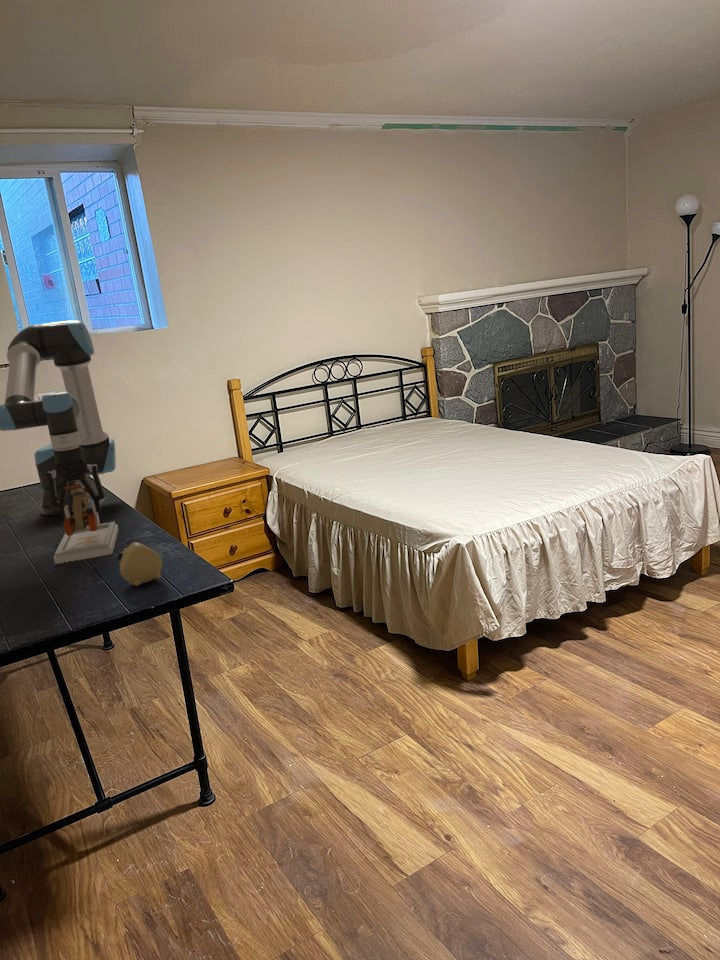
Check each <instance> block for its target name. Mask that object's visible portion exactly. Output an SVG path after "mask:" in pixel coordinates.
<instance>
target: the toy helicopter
mask: <svg viewBox="0 0 720 960" xmlns="http://www.w3.org/2000/svg"><path fill="white" fill-rule="evenodd" d="M64 489H71V494H72V495H74V496H73V507H72V511H73V512H72V513H73V514H72V515H71V518H63V527H64V532H65V533H66V535H67V536H69V535H73V534H74V531H77V530H83V529H85V528H86V527H87V526H89V529H90V531H97V529H98V526H97V519H96V516H95V514H94V513H90V514H89V513H87V509H88V508H89V498H88V494H87V493H88V491H87V490H86V488H85V487H82V485H81V484H78V483H77V484H76V485H74V486H67V487H64Z"/></svg>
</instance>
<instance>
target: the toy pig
mask: <svg viewBox="0 0 720 960" xmlns="http://www.w3.org/2000/svg"><path fill="white" fill-rule="evenodd" d="M117 560H118V564H119V573H120V575H121V576H122V578H123V579H124V580H125V581H127V582H128V583H129V586H136V587H137V586H138V587H139V586H140V585H141V584H142V585H143V584H146V583H149V582H151V581H153V580H154V579H157V580H158V579H160V578H161V577H162V574H161V571H162V568H163V559H162V557H161V555H159V554H158V553H157V552H156V551H155V550H153V549H152V548H150V547H149V546H147V545H145V544H143V543H141V542H137V541H133V542H132V543H130V544H129V545H128V547H125V548H123V551H121V552H119V553H118V554H117Z"/></svg>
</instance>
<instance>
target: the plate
mask: <svg viewBox="0 0 720 960" xmlns="http://www.w3.org/2000/svg"><path fill="white" fill-rule="evenodd" d="M97 526H98V529H97V531H90V529H89V526H87V527H86V528H85V529H83V530H77V531H74V534H73V535H69V536H67V535H66V532H65V533H64V535H63V537H62V539H61V540H60V542H59V544H58V546H57V548H56V550H55V552H54V556H53V562H54V564H55V565H58V564H59V563H60V564H65V563H70V562H69V561H71V562H76V561H81V560H86V559H92V558H97V557H98V558H99V557H105V556H108V555H112V554H114V553H113V552H114V548H115V545H116V542H117V539H118V538H117V537H118V535H117V534H119V531H118V530H119V527H118V524H116V521H110V522H105V523H104V522H103V523H99V524H98V525H97ZM75 560H76V561H75ZM64 562H65V563H64Z"/></svg>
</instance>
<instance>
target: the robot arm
mask: <svg viewBox="0 0 720 960" xmlns="http://www.w3.org/2000/svg"><path fill="white" fill-rule="evenodd" d="M94 354H95V349H94V345H93V341H92V338H91V335H90V333H89V330H88V329H87V326H86V324H85V323H84V322H83V321H81V320H65V321H64V320H63V321H55V322H54V321H53V322H48V323H41V324H39V323H38V324H33V325H29V326H27V327H25V328H24V329H22V330H21V331H20V332H18V333H17V334H16V335H15V336H14V337H13V339H12V340H11V341H10V343H9V345H8V347H7V352H6V358H7V361H8V363H9V366H8V374H7V382H6V389H5V399H4V403H1V404H0V431H1V432H6V431H7V432H8V431H19V430H24V429H30V428H37V427H43V426H47V429H48V434H49V438H50V443H51V444H49V445H46V446H44V447H40V448H39V449H37V450H36V451H35V452H34V460H35V466H36V470H37V475H38V478H39V479H38V480H39V483H40V486H41V491H42V492H41V501H40V511H41V514H42V515H44V516H56V515H57V516H58V515H60V516H61V518H62V519H66V518H71V519H72V516H71V513H73V511H72V507H73V496H74V495H72V494H71V489H64V487H67V486H74V485H76V484H78V482H77V481H80V483H81V484H82V485H83V488H84V489H86V490H87V491H88V492H87V493H88V495H89V496H90V498H91V499H92V500H91V503H90V504H91V508H92V512H93V513H92V514H95V516H96V519H97V525H98V524H100V521H101V520H100V516H99V513H101V509H102V507H101V504H100V500H103V499H104V498H105V495H106V493H105V491H104V487H103V485H102V483H101V479H100V476H99V475H104V474H107V473H112V472H114V471H115V470H116V463H117V461H116V460H117V459H116V444H115V440H114V439H113V438H109V437H110V436H109V434H108V433H107V432H106V431H103V427H102V421H101V418H100V413H99V410H98V409H99V408H98V404H97V400H96V396H95V391H94V387H93V383H92V379H91V374H90V370H89V364H90V362H91V361H92V356H93V355H94ZM43 361H53V364H54V366H55V367H56V368H58V369H59V370H60V371H61V376H62V379H63V385H64V387H65V391H58V392H51V393H47V394H44V395H42V396H41V399H36V400H35V399H34V397H35V387H36V377H37V376H36V375H37V367H38V366H39V364H40V362H43ZM88 476H89V477H90V476H92V478H93V482H94V485H95V488H96V490H97V492H96V491H95V489H94V488H93V486H92V485H91V483H90V481H89V480H88V479H87V477H88Z"/></svg>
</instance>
